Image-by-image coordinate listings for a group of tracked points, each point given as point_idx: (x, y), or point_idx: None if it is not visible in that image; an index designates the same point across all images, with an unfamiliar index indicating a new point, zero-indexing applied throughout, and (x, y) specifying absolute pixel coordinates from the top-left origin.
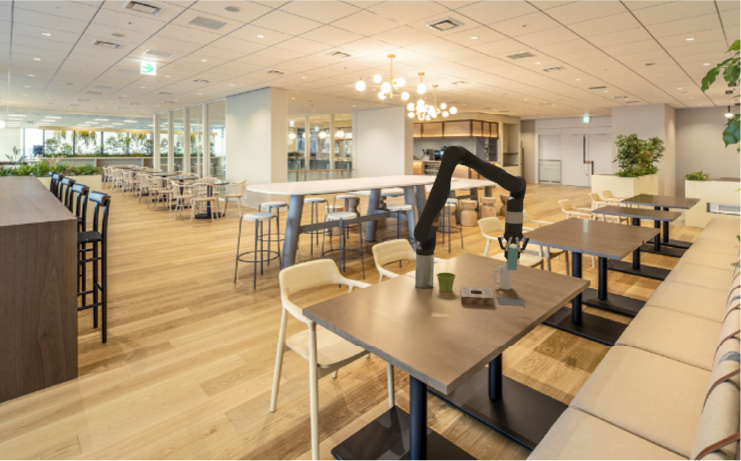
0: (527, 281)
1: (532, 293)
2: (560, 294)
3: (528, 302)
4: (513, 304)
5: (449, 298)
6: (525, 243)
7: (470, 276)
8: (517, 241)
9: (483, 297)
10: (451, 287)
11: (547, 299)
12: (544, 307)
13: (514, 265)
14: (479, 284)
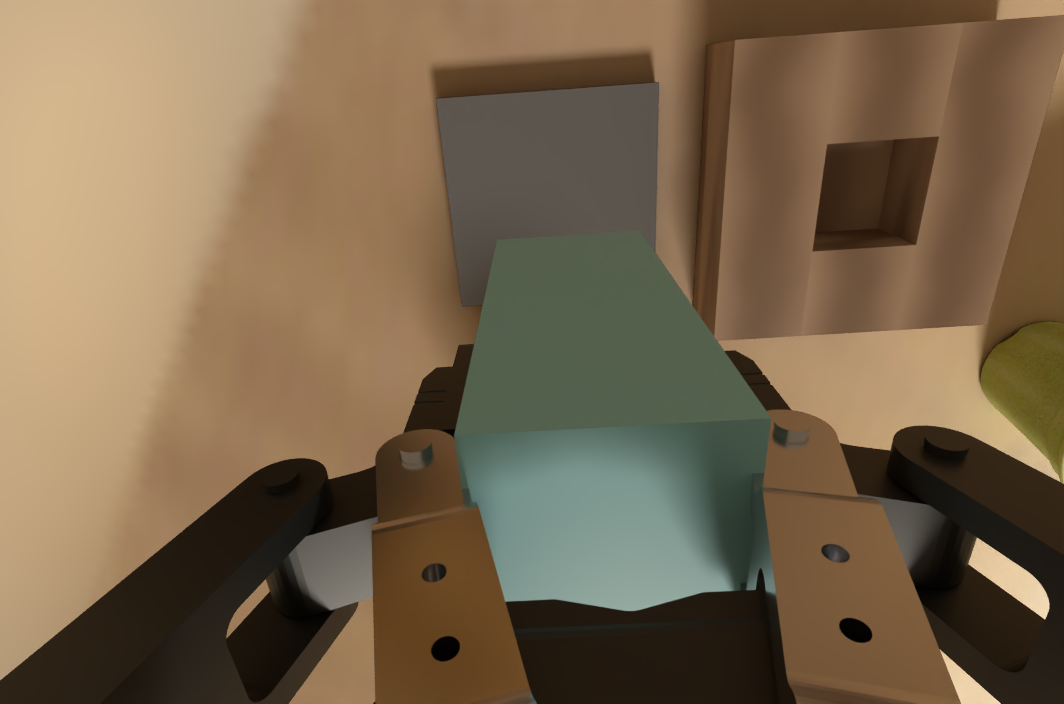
0: None
1: (368, 453)
2: (179, 471)
3: (402, 254)
4: (529, 122)
5: (1047, 208)
6: (125, 644)
7: None
8: (452, 679)
9: (841, 36)
10: (1030, 360)
11: (262, 352)
12: (279, 161)
13: (536, 258)
14: None
